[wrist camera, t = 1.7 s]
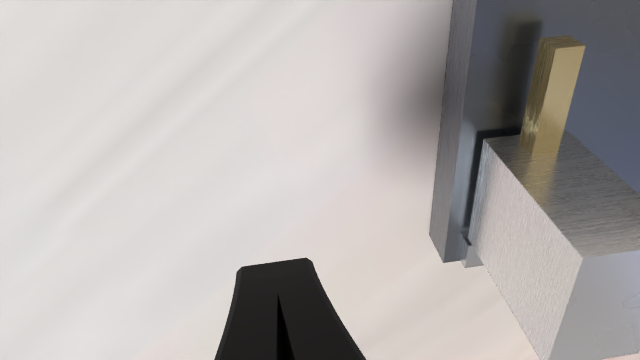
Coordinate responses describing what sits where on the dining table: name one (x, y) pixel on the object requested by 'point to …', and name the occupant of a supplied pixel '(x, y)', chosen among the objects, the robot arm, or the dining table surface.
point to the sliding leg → (559, 225)
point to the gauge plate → (513, 88)
